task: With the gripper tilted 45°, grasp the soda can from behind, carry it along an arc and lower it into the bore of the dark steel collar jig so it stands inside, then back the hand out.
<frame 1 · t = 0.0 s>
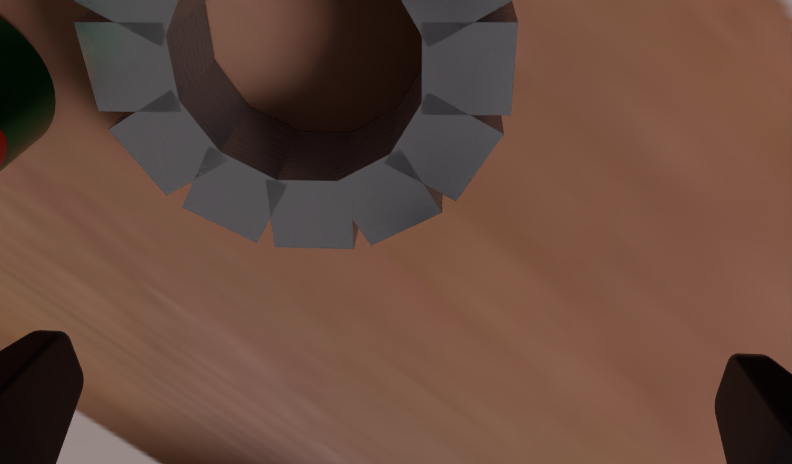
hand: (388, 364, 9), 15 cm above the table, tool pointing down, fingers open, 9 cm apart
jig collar: (316, 31, 22), on the table
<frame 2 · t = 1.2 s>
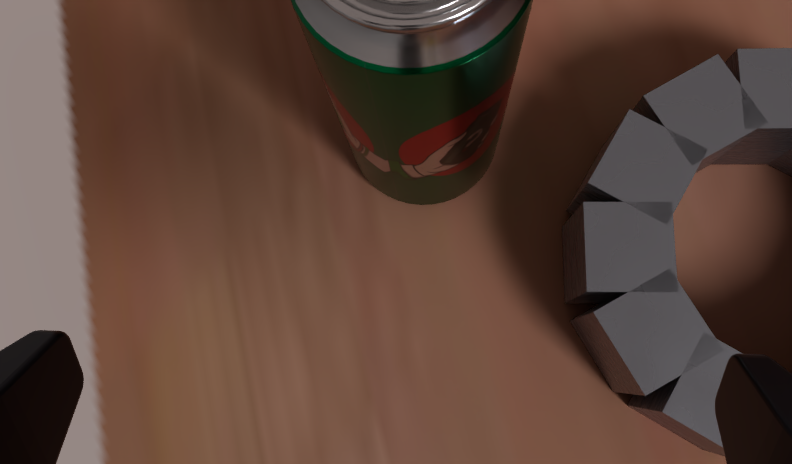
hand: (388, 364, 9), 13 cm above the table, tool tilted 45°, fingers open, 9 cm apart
soda can: (424, 141, 24), on the table
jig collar: (747, 266, 22), on the table
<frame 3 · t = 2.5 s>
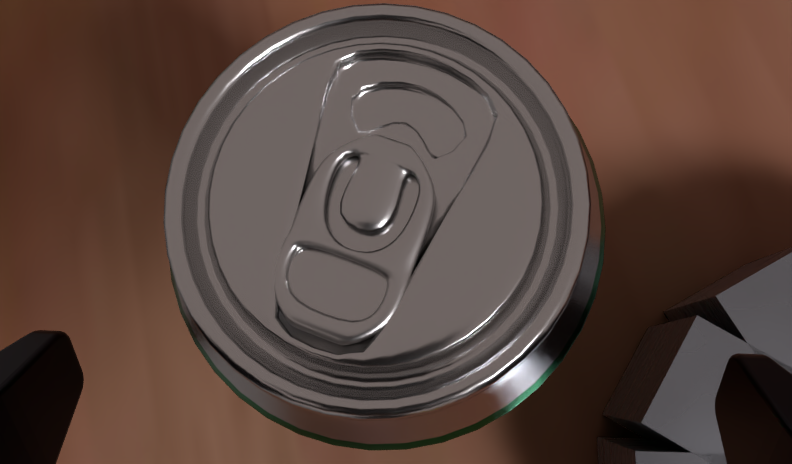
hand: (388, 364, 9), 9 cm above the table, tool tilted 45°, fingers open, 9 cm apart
soda can: (416, 312, 19), on the table
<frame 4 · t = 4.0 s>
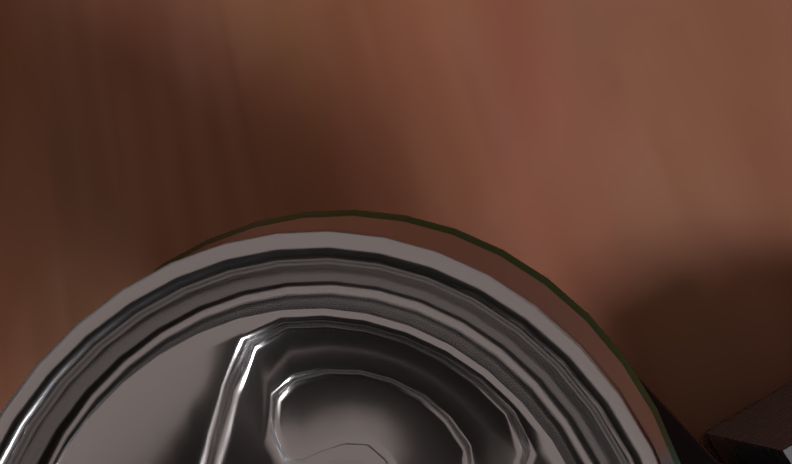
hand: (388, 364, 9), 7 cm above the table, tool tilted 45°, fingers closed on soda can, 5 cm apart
soda can: (408, 429, 16), on the table, touching gripper
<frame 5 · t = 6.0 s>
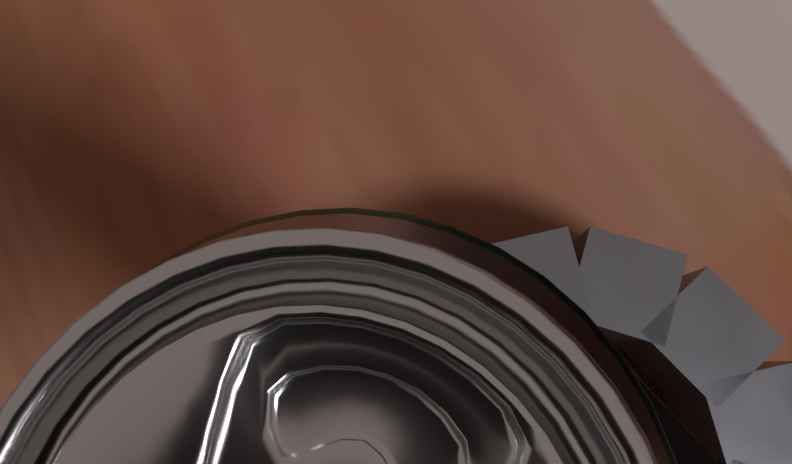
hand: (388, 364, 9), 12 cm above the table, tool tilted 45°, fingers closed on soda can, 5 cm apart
soda can: (407, 427, 16), point 5 cm above the table, touching gripper
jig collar: (557, 448, 20), on the table
when the fingers open (8 cm above the table, at t = 8.0 s): soda can drops 1 cm, resting in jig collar.
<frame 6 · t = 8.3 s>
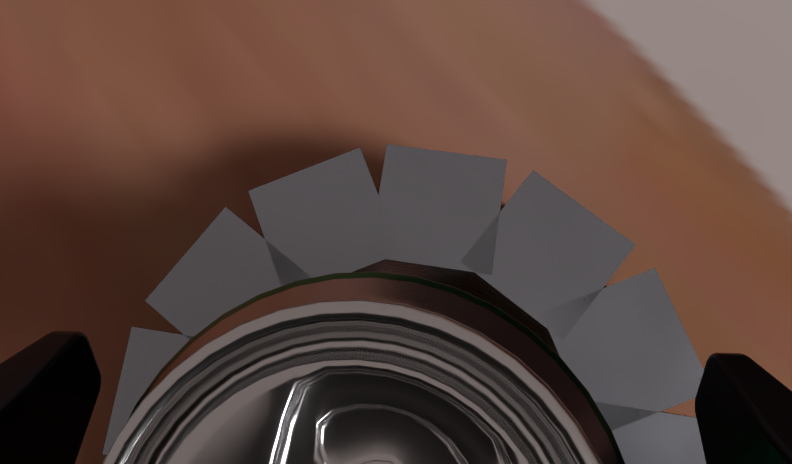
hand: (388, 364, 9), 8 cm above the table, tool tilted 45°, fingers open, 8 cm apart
soda can: (410, 432, 17), resting in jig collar
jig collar: (411, 424, 17), on the table
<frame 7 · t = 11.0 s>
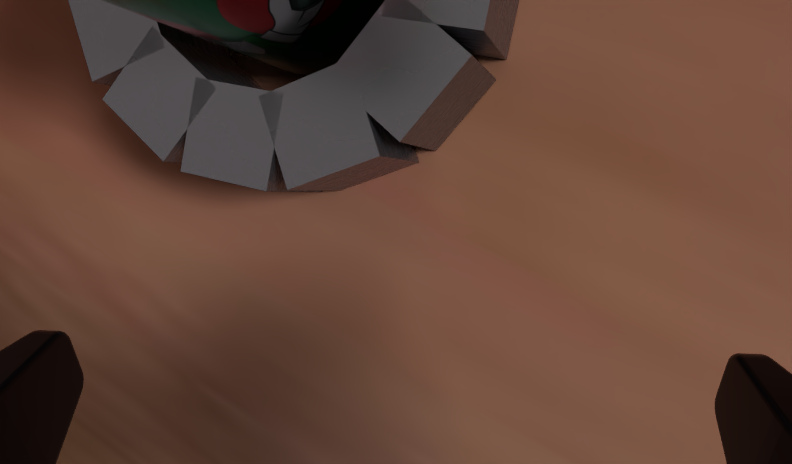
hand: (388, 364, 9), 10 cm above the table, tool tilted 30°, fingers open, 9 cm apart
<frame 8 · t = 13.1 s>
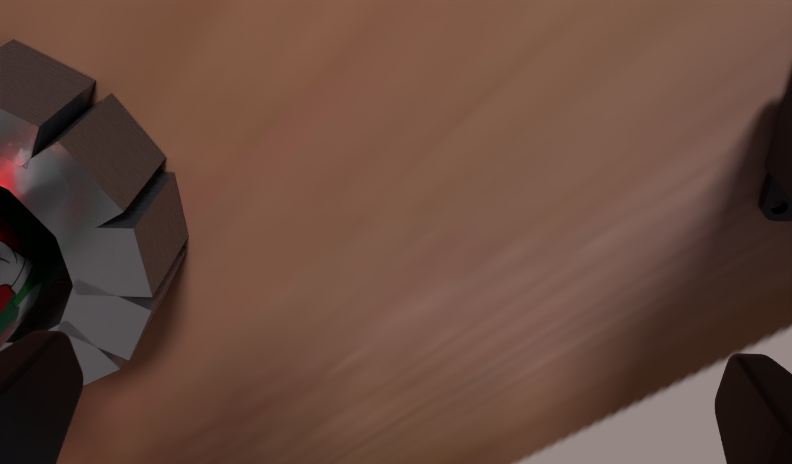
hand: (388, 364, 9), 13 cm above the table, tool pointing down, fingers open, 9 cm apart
soda can: (26, 198, 24), resting in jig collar
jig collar: (17, 201, 24), on the table
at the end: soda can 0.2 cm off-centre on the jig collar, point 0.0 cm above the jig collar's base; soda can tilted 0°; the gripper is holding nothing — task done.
